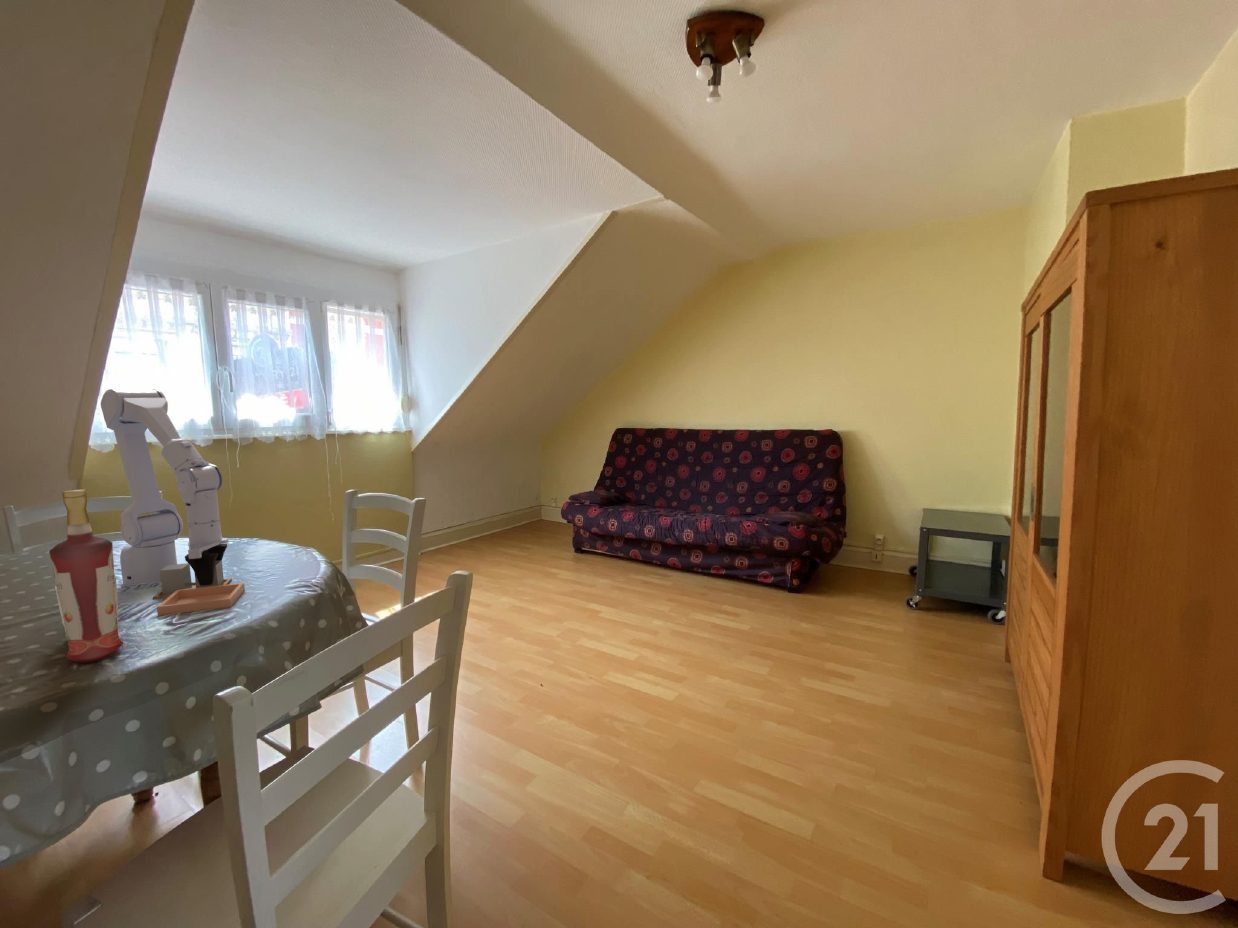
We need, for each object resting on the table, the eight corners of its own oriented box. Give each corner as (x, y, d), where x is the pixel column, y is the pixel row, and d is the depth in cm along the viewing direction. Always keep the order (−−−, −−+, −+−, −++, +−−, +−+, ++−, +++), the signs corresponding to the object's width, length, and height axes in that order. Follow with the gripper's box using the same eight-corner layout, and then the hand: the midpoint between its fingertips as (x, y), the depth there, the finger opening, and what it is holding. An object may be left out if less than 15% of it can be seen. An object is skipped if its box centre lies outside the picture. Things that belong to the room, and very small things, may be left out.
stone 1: (162, 595, 117) (159, 570, 116) (170, 589, 120) (167, 565, 120) (185, 592, 118) (182, 568, 117) (192, 586, 122) (189, 562, 121)
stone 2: (196, 591, 119) (193, 567, 118) (202, 585, 123) (200, 562, 122) (218, 589, 120) (215, 565, 119) (224, 583, 124) (221, 560, 123)
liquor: (125, 657, 91) (104, 491, 87) (63, 672, 86) (38, 497, 82) (125, 642, 96) (106, 485, 92) (67, 655, 91) (43, 490, 88)
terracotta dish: (158, 617, 106) (156, 607, 106) (178, 599, 116) (177, 589, 115) (231, 609, 111) (230, 598, 110) (244, 592, 120) (243, 582, 120)
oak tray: (152, 601, 115) (152, 597, 114) (168, 588, 122) (168, 584, 122) (221, 594, 119) (220, 589, 119) (232, 582, 126) (231, 578, 126)
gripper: (214, 527, 114) (220, 589, 116) (235, 512, 127) (240, 569, 129) (173, 530, 112) (180, 594, 113) (198, 515, 125) (204, 572, 127)
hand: (209, 581), depth 121 cm, fingers closed on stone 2, 4 cm apart
